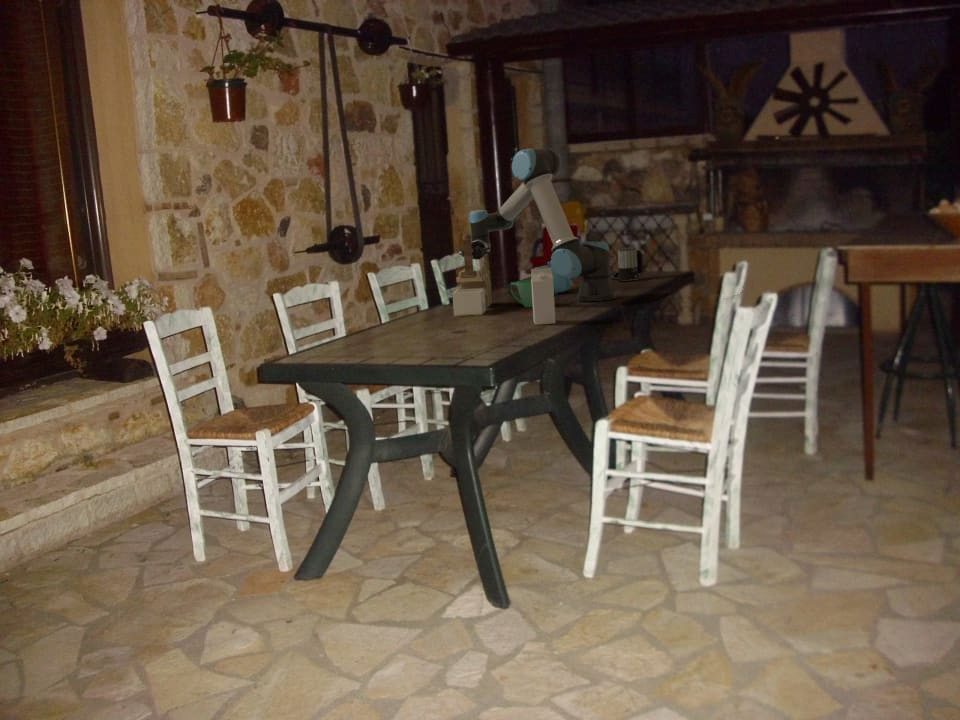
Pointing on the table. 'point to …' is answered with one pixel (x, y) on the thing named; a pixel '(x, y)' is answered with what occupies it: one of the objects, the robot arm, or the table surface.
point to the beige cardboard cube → (469, 302)
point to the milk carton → (543, 296)
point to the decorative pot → (558, 280)
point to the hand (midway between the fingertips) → (468, 255)
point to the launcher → (478, 283)
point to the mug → (522, 292)
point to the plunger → (468, 257)
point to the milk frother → (628, 263)
